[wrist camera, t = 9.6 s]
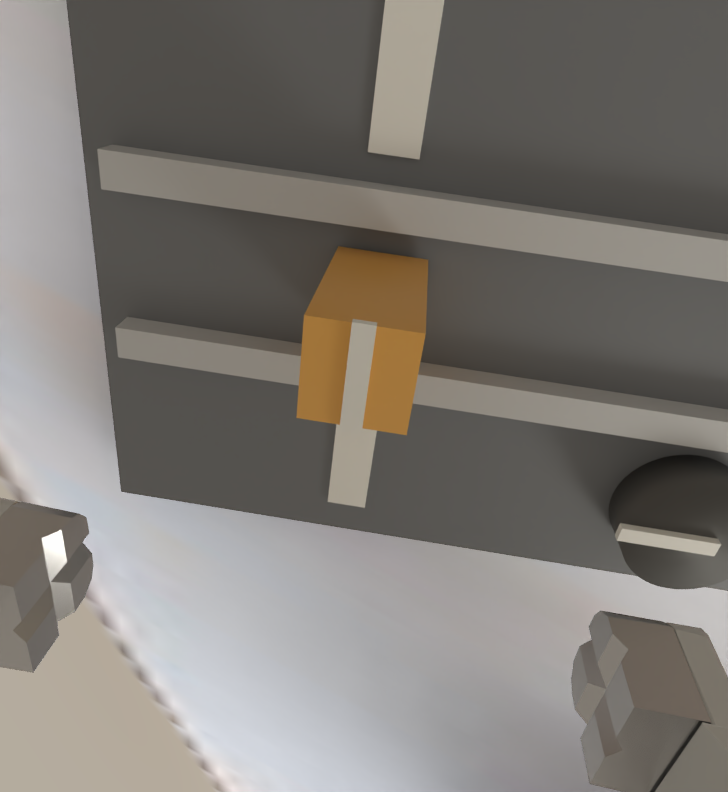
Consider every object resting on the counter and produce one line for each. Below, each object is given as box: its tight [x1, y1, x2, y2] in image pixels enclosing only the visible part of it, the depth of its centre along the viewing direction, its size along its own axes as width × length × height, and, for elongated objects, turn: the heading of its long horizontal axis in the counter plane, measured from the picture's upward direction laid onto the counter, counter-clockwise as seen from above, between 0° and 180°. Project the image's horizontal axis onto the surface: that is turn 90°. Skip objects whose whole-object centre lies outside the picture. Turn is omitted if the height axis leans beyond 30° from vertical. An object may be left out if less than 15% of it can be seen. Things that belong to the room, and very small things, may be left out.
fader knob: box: [296, 246, 428, 435], centre depth 18 cm, size 3×3×6 cm
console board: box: [67, 0, 728, 591], centre depth 21 cm, size 22×28×4 cm
